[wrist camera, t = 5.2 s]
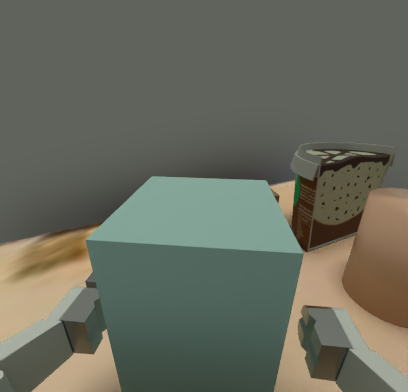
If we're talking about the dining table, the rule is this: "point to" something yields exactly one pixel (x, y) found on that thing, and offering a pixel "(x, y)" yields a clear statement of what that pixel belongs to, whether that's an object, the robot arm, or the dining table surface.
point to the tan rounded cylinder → (381, 257)
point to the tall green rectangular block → (196, 285)
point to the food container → (334, 189)
